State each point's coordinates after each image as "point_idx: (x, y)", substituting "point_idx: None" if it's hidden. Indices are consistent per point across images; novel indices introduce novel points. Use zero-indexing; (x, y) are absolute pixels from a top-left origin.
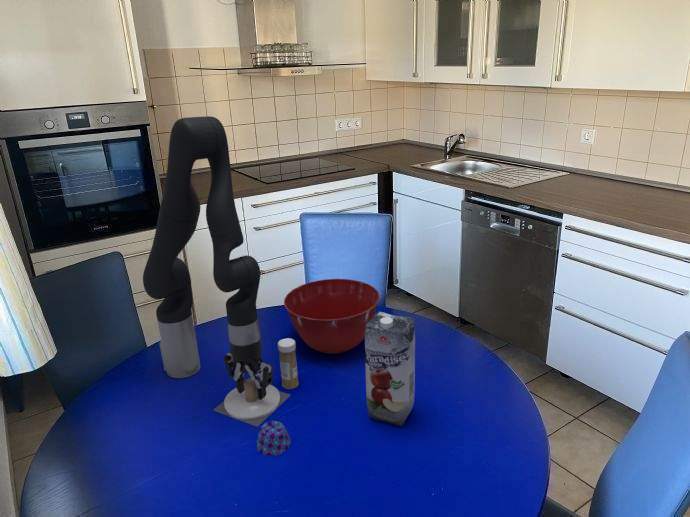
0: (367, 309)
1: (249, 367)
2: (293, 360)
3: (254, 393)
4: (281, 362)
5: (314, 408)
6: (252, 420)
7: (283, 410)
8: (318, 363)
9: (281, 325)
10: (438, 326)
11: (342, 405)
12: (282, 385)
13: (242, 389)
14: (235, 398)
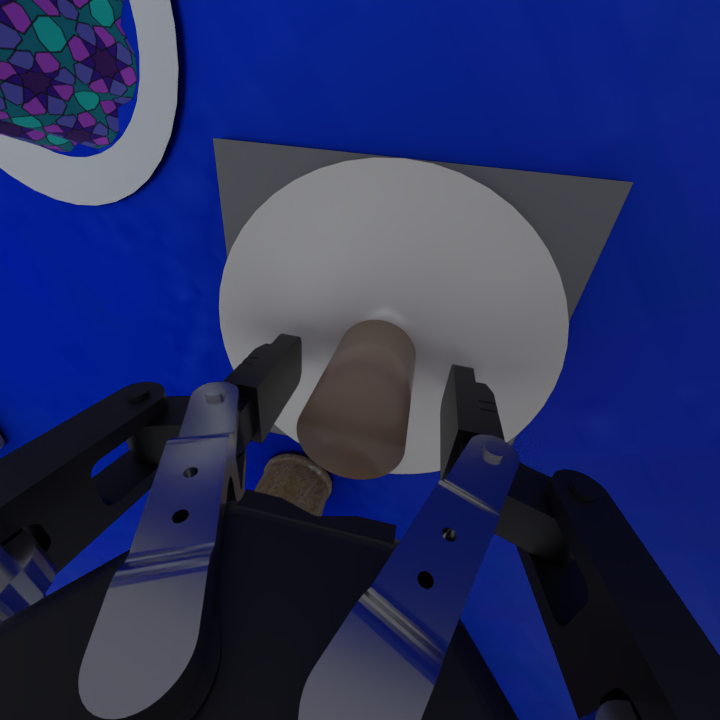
0: None
1: (98, 639)
2: None
3: (326, 367)
4: None
5: (126, 376)
6: (279, 185)
7: (217, 333)
8: None
9: (514, 704)
10: None
11: (70, 410)
12: (319, 472)
13: (446, 394)
14: (485, 330)
